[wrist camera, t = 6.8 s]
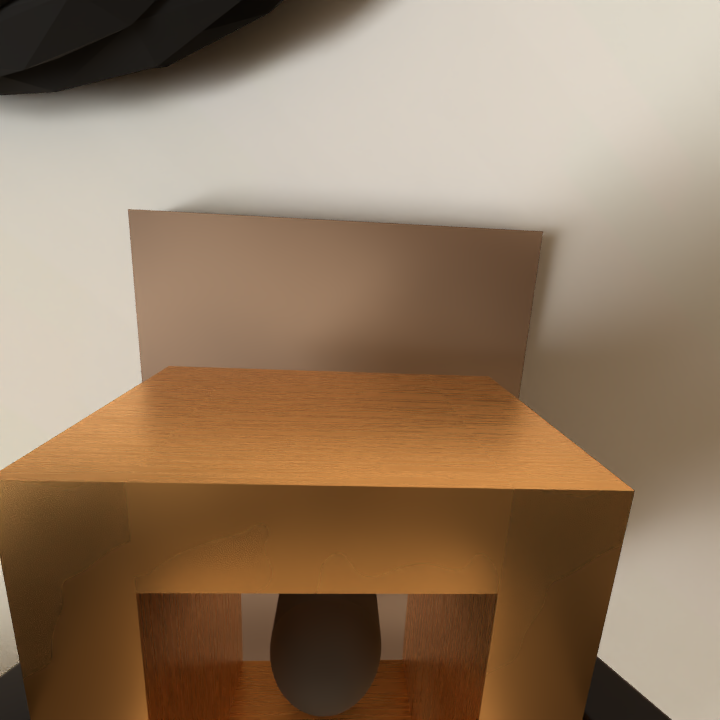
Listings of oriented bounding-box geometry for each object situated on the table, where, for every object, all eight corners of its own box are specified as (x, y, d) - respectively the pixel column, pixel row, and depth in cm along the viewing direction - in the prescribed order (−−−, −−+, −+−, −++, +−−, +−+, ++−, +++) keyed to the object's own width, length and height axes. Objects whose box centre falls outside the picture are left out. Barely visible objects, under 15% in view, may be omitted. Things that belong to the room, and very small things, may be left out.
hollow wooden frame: (448, 700, 10) (519, 991, 6) (191, 703, 9) (86, 1014, 6) (489, 376, 8) (635, 489, 4) (168, 365, 8) (-15, 480, 4)
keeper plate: (467, 643, 15) (579, 984, 8) (181, 643, 14) (28, 1012, 7) (522, 234, 11) (803, 195, 4) (151, 215, 11) (-187, 134, 4)
